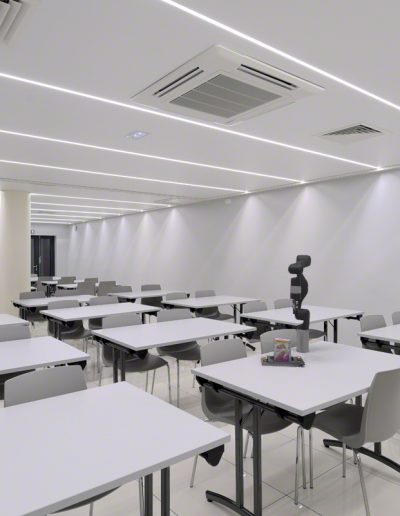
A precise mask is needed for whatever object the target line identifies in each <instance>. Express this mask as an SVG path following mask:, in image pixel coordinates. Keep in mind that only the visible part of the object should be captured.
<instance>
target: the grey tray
mask: <svg viewBox="0 0 400 516" xmlns="http://www.w3.org/2000/svg"><path fill="white" fill-rule="evenodd" d="M273 359H274V355H266V356H263V357H260V361H261V365H262V367H263V366H267V367H270V366H271V367H289V368H290V367H292V368H293V367H294V368H299V366H303V365H304V366H305V361H304V360H303V358H302V356H300V355H296V356H292V355H291V361H273Z"/></svg>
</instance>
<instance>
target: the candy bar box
mask: <svg viewBox="0 0 400 516" xmlns="http://www.w3.org/2000/svg"><path fill="white" fill-rule="evenodd" d="M273 356H274V359H273V361H291V356H292V339H284V338H278V337H276V338H273Z"/></svg>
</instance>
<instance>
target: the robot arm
mask: <svg viewBox="0 0 400 516" xmlns="http://www.w3.org/2000/svg"><path fill="white" fill-rule="evenodd" d="M311 263H312V257H311V256H310V255H308V254H298V255H297V256H296V257H295V262H294V263H291V264H289V266H288V268H287V271H288V273H289V274H290V275H296V276H294V277H291V278H290V288H289V299H290V300H291V303H292V304H291V308H292V314H293V315H294V318H295V320H297V321H302V323H299V324H297V325H296V352H299V353H309V352H308V351H309V349H310V348H309V346H310V344H309V343H310V342H309V341H310V323H311V322H310V320H311V312H310V310H309V309H308V308H302V305H303V302H304V300H305V298H306V297H307V295H308V293H309V281H308V280H307V279H306V277H305V275H304V274H303V272H304V270H305V268H308V267H310V266H311Z"/></svg>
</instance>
